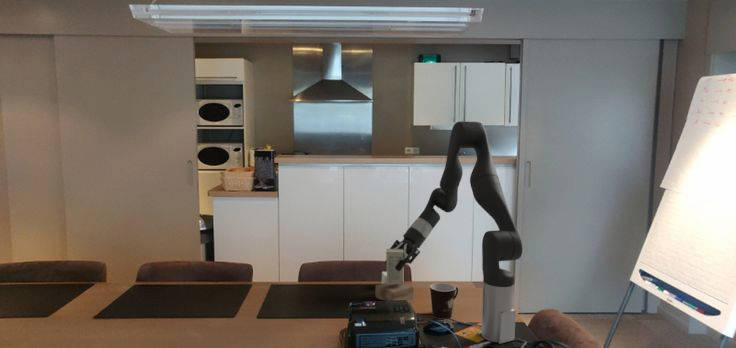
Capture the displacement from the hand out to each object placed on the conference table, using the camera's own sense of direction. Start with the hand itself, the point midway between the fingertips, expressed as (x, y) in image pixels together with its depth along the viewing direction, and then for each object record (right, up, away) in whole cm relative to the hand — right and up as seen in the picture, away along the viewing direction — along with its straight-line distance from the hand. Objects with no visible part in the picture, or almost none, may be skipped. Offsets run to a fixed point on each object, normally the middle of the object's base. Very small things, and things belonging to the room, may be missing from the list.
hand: (391, 267), depth 185 cm
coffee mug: (+18, -14, -13) cm, 27 cm away
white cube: (0, -11, +14) cm, 18 cm away
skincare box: (+1, -6, +1) cm, 6 cm away
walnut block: (+1, -12, +2) cm, 13 cm away
